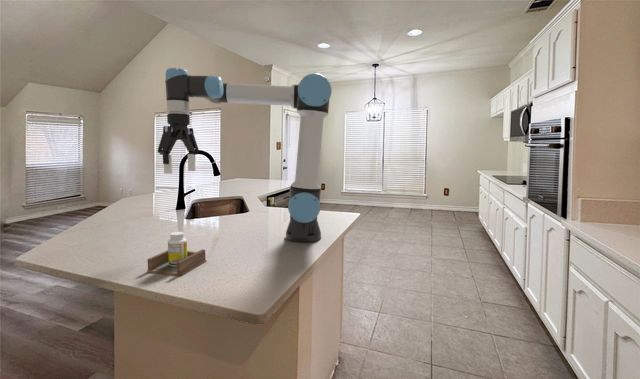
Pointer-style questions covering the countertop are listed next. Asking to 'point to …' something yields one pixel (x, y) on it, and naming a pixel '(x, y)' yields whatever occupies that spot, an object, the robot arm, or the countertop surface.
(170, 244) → the supplement bottle
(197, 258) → the u rest
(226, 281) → the countertop surface
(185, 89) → the robot arm
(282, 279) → the countertop surface
